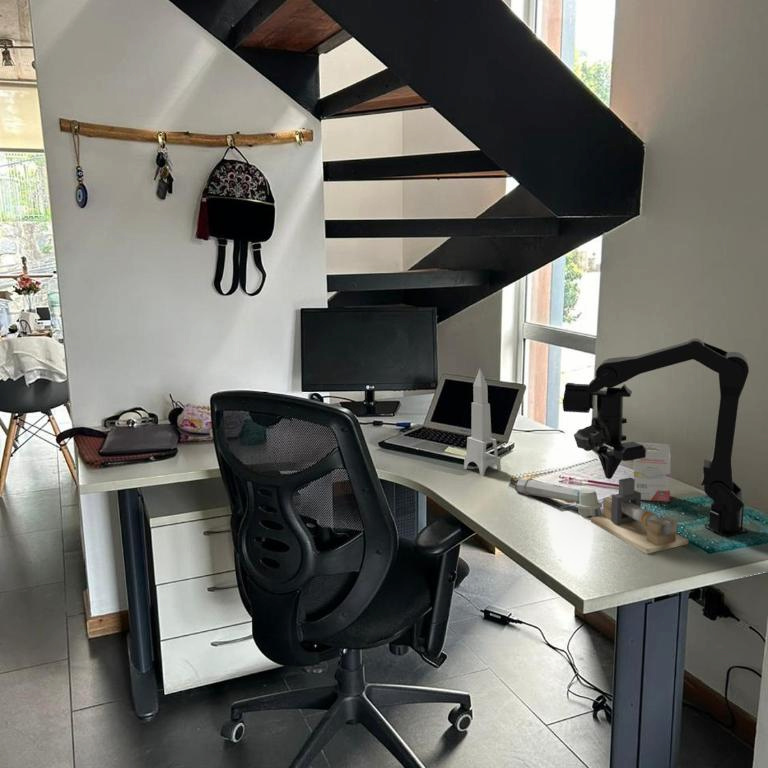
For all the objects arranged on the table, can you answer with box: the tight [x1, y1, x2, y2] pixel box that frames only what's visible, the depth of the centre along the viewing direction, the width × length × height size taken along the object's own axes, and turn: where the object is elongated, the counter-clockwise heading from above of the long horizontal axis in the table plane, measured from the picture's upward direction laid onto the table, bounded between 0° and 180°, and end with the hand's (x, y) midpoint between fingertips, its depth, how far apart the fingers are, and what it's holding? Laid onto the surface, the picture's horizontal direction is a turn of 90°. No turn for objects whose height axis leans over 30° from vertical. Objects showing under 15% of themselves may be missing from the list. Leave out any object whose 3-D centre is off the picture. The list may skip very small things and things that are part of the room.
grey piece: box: [514, 477, 603, 518], centre depth 180 cm, size 5×7×25 cm
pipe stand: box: [590, 493, 689, 555], centre depth 161 cm, size 11×19×6 cm, turn 20°
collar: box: [611, 477, 642, 525], centre depth 164 cm, size 6×2×10 cm, turn 110°
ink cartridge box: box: [633, 442, 671, 503], centre depth 180 cm, size 9×5×15 cm, turn 68°
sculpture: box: [463, 368, 502, 477], centre depth 206 cm, size 7×8×30 cm
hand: (608, 478), depth 170 cm, fingers closed
